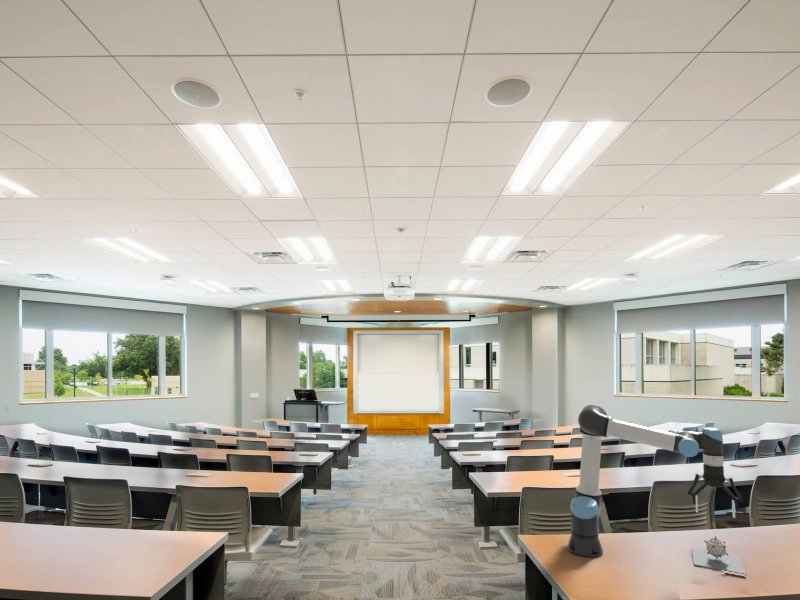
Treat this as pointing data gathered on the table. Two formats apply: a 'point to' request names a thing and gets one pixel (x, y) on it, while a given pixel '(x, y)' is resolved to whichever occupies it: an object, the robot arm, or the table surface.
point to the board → (717, 561)
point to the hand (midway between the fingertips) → (715, 514)
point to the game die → (716, 547)
